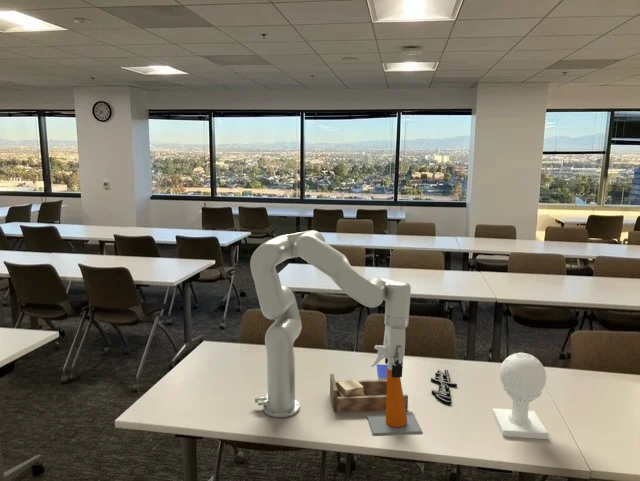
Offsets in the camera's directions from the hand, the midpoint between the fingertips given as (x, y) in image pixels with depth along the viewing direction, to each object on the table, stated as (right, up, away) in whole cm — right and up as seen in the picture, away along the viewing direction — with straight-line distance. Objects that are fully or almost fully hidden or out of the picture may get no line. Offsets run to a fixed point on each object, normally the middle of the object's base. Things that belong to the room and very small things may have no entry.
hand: (393, 370), depth 153 cm
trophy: (+42, -19, +2) cm, 46 cm away
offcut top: (-13, -12, +16) cm, 24 cm away
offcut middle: (-13, -14, +16) cm, 25 cm away
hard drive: (+4, -13, +41) cm, 43 cm away
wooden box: (-7, -16, +17) cm, 24 cm away
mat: (+1, -19, +3) cm, 19 cm away
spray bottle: (0, -18, +3) cm, 18 cm away
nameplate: (+24, -15, +29) cm, 40 cm away
